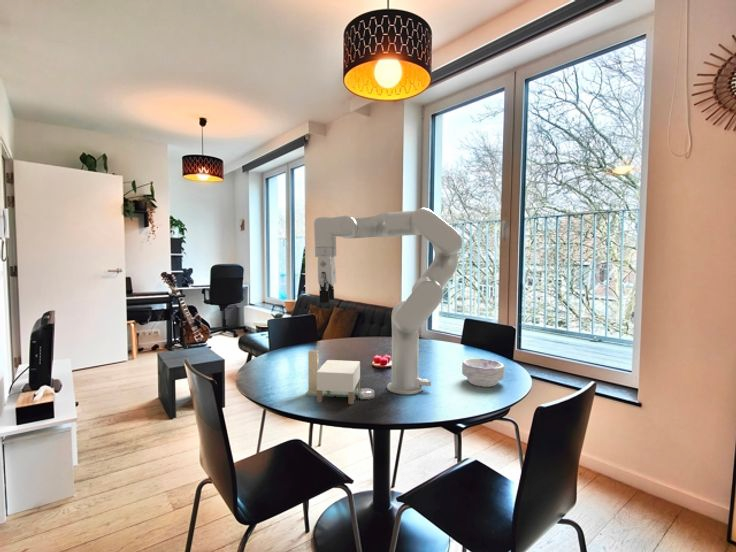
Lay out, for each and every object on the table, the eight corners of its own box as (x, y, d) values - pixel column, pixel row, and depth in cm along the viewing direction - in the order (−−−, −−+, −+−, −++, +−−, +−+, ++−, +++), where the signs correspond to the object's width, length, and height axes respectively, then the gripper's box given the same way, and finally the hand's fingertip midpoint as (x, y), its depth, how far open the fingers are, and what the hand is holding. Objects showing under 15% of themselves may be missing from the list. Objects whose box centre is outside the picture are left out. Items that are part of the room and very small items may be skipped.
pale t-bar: (305, 397, 131) (305, 353, 130) (310, 390, 138) (310, 348, 137) (354, 399, 128) (355, 355, 128) (358, 392, 135) (358, 350, 135)
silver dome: (374, 394, 134) (374, 388, 134) (373, 400, 129) (374, 394, 128) (357, 393, 135) (357, 388, 135) (355, 399, 129) (356, 394, 129)
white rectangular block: (359, 388, 139) (360, 361, 139) (353, 404, 124) (353, 373, 124) (327, 387, 141) (327, 359, 140) (316, 402, 126) (316, 371, 125)
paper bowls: (504, 379, 151) (504, 359, 151) (503, 392, 137) (504, 370, 136) (464, 375, 156) (464, 355, 156) (459, 387, 142) (460, 365, 142)
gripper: (331, 252, 127) (333, 303, 128) (340, 252, 145) (341, 298, 145) (309, 252, 128) (311, 304, 129) (320, 253, 145) (321, 298, 146)
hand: (327, 301), depth 137 cm, fingers open, 9 cm apart
